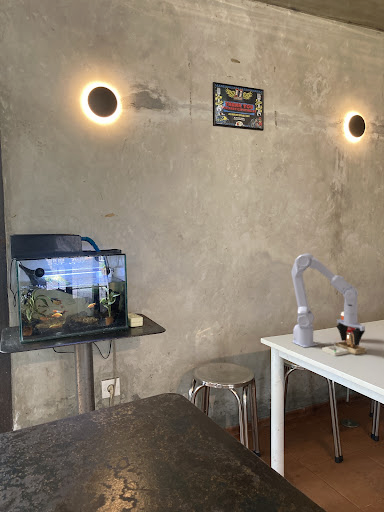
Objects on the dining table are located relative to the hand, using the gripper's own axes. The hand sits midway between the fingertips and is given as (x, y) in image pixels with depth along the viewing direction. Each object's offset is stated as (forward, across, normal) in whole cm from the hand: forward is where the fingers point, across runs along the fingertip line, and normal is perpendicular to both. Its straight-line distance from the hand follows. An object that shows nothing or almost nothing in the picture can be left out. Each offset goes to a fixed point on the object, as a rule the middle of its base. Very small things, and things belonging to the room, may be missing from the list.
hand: (350, 342), depth 176 cm
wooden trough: (+4, 0, 0) cm, 4 cm away
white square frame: (+4, +1, +8) cm, 9 cm away
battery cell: (+3, 0, 0) cm, 3 cm away
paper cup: (+4, +12, -12) cm, 17 cm away
